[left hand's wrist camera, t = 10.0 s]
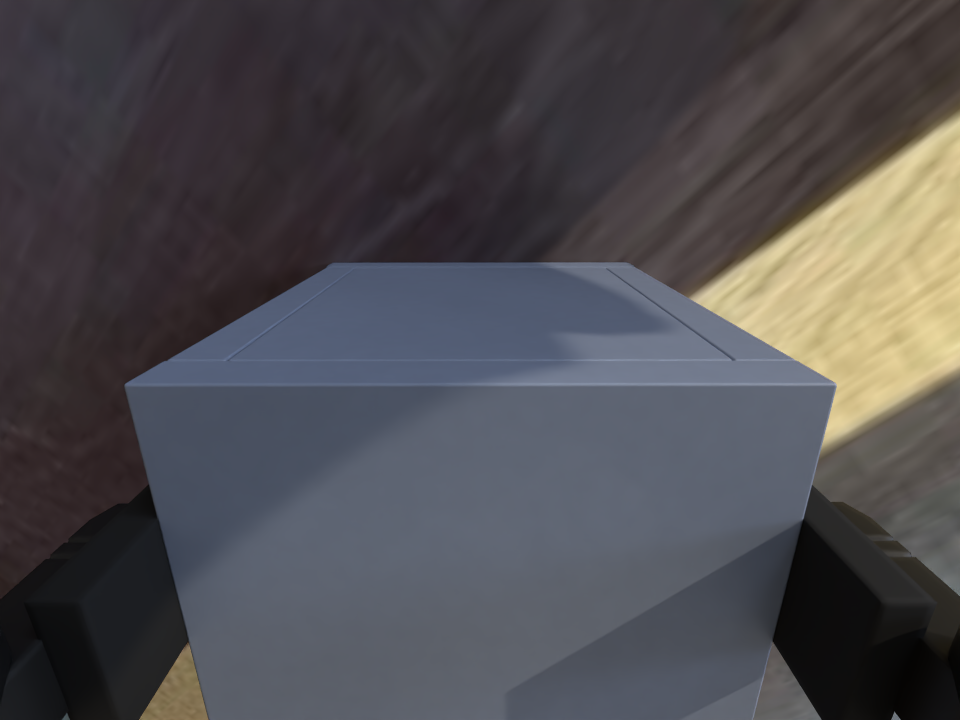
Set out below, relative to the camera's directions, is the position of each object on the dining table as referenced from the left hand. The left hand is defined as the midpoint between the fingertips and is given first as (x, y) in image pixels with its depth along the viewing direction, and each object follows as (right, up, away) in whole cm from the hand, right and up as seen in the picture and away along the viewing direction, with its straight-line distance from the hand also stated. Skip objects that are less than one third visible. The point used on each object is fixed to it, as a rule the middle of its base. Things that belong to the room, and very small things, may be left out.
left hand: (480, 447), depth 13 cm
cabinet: (0, -1, +8) cm, 8 cm away
